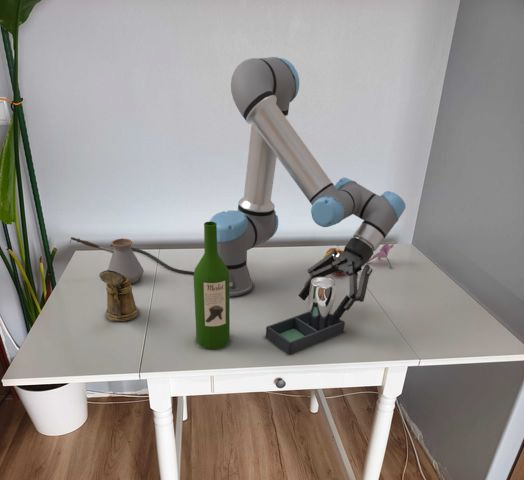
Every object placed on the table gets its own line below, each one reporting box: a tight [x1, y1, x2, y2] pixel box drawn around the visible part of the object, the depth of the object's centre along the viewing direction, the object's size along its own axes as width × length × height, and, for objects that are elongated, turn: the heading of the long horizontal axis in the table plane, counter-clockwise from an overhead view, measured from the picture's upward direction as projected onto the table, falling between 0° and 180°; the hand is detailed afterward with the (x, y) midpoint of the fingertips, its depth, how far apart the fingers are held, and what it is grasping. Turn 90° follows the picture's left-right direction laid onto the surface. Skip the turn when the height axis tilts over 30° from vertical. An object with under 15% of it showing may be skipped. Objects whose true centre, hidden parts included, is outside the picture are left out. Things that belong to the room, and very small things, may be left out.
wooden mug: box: [98, 269, 139, 323], centre depth 138 cm, size 9×14×18 cm, turn 2°
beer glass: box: [307, 276, 336, 331], centre depth 137 cm, size 7×7×15 cm
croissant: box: [323, 247, 345, 276], centre depth 177 cm, size 21×10×8 cm, turn 1°
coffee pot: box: [69, 236, 144, 284], centre depth 159 cm, size 21×12×15 cm, turn 100°
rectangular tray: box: [265, 311, 346, 355], centre depth 138 cm, size 10×20×4 cm, turn 127°
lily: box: [366, 240, 399, 268], centre depth 180 cm, size 12×12×10 cm
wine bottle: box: [193, 221, 231, 350], centre depth 126 cm, size 9×9×32 cm
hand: (317, 307), depth 136 cm, fingers open, 13 cm apart
